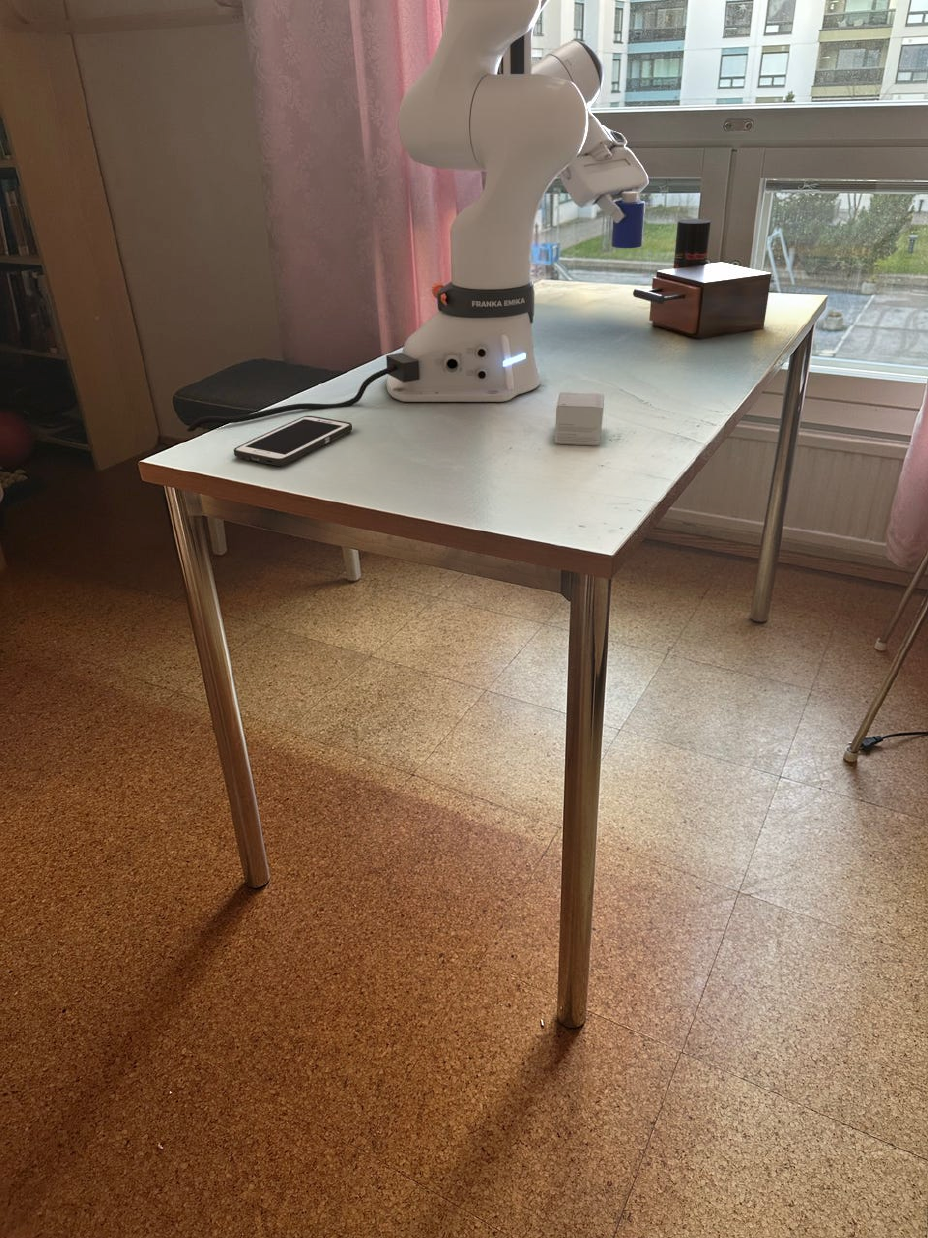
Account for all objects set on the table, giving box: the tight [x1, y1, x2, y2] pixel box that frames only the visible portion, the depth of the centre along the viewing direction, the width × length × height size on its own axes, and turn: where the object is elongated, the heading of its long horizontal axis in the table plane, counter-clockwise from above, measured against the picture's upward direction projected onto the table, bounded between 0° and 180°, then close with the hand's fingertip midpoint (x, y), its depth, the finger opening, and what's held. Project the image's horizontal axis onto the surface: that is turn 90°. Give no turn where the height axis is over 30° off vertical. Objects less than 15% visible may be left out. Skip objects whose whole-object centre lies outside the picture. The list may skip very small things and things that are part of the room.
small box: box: [554, 391, 605, 446], centre depth 112 cm, size 6×6×5 cm
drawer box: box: [651, 262, 772, 340], centre depth 159 cm, size 15×13×9 cm
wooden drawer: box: [632, 276, 701, 334], centre depth 157 cm, size 19×11×7 cm, turn 118°
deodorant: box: [672, 218, 712, 269], centre depth 172 cm, size 6×6×15 cm
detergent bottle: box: [611, 191, 646, 249], centre depth 156 cm, size 5×5×8 cm
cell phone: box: [233, 415, 353, 467], centre depth 113 cm, size 8×15×1 cm, turn 150°
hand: (631, 217), depth 156 cm, fingers closed on detergent bottle, 5 cm apart
